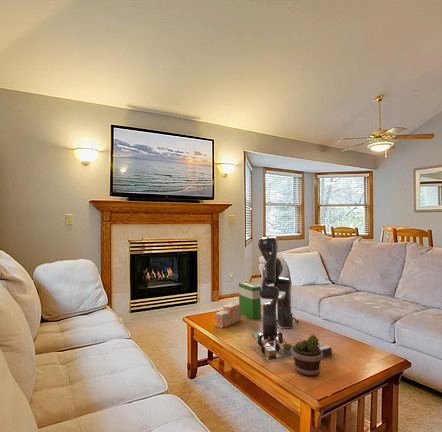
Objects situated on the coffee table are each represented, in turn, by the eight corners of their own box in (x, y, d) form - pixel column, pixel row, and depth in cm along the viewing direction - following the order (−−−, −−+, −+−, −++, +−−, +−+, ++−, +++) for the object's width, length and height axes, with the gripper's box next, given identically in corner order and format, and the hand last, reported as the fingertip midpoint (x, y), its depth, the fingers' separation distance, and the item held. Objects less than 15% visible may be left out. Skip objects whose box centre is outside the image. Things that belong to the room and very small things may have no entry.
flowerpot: (285, 370, 149) (284, 330, 149) (302, 361, 159) (301, 323, 159) (312, 383, 138) (311, 339, 138) (329, 372, 147) (328, 331, 147)
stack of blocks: (222, 328, 207) (222, 310, 207) (215, 326, 211) (215, 308, 211) (240, 320, 222) (240, 303, 222) (233, 318, 227) (233, 302, 227)
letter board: (284, 342, 183) (284, 335, 183) (304, 356, 164) (304, 349, 164) (251, 346, 178) (250, 339, 178) (267, 362, 158) (267, 354, 158)
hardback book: (239, 313, 239) (238, 282, 239) (247, 311, 242) (246, 281, 242) (252, 319, 223) (252, 287, 223) (260, 318, 226) (260, 286, 226)
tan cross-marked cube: (272, 351, 168) (271, 346, 168) (276, 355, 164) (276, 349, 164) (264, 352, 167) (264, 347, 167) (268, 356, 163) (268, 350, 163)
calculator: (310, 338, 179) (331, 346, 165) (311, 345, 179) (332, 354, 165) (296, 341, 174) (317, 350, 161) (297, 349, 174) (317, 358, 161)
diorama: (263, 331, 201) (263, 318, 200) (284, 343, 182) (284, 329, 182) (248, 334, 196) (248, 321, 195) (268, 347, 177) (268, 332, 177)
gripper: (261, 326, 160) (261, 356, 160) (285, 323, 163) (285, 353, 163) (254, 321, 167) (255, 350, 167) (277, 318, 171) (278, 347, 171)
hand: (270, 352), depth 165 cm, fingers open, 8 cm apart
